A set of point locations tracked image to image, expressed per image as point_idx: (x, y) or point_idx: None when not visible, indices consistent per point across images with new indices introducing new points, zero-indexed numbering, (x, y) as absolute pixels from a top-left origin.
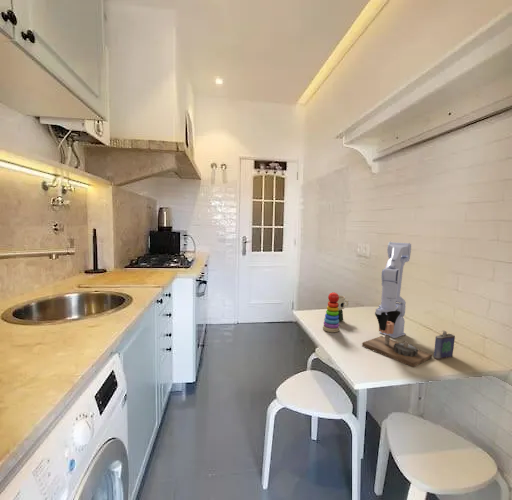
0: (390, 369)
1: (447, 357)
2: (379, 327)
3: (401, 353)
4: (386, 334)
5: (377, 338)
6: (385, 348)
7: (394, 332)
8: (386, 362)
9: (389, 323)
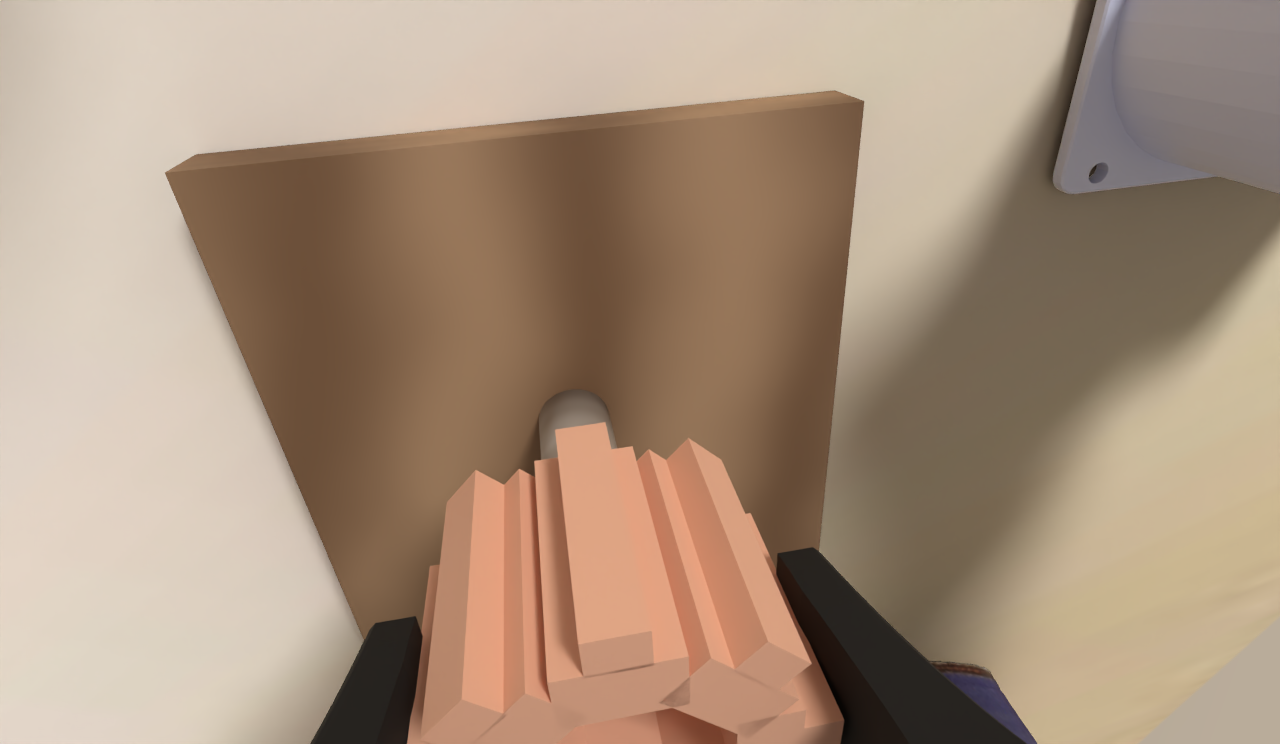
0: (139, 739)
1: None
2: (355, 662)
3: None
4: (1104, 14)
5: (670, 159)
6: (432, 498)
7: (1184, 154)
8: (213, 642)
9: (722, 739)
